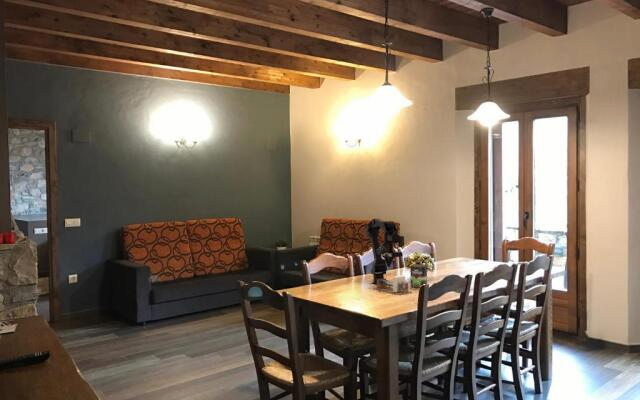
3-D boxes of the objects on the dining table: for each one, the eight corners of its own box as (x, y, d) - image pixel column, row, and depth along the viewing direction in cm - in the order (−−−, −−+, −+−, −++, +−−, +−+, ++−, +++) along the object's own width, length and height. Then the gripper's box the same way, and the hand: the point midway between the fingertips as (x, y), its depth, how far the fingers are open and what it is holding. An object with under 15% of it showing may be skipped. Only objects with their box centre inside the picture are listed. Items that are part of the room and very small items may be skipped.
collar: (393, 291, 312) (393, 276, 312) (401, 289, 317) (401, 275, 316) (396, 292, 310) (396, 277, 310) (405, 290, 314) (405, 276, 314)
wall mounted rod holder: (373, 289, 323) (373, 279, 323) (385, 287, 329) (385, 277, 329) (399, 295, 306) (399, 285, 306) (411, 293, 312) (411, 282, 312)
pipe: (374, 288, 323) (374, 279, 322) (386, 286, 328) (386, 277, 328) (398, 294, 307) (398, 284, 307) (410, 291, 313) (410, 282, 313)
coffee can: (424, 290, 319) (424, 267, 319) (408, 289, 324) (408, 266, 324) (429, 287, 328) (429, 264, 328) (413, 286, 333) (413, 263, 333)
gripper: (368, 241, 328) (368, 266, 329) (390, 244, 314) (390, 270, 314) (381, 240, 335) (381, 264, 336) (403, 242, 321) (403, 268, 321)
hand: (388, 267), depth 327 cm, fingers closed
